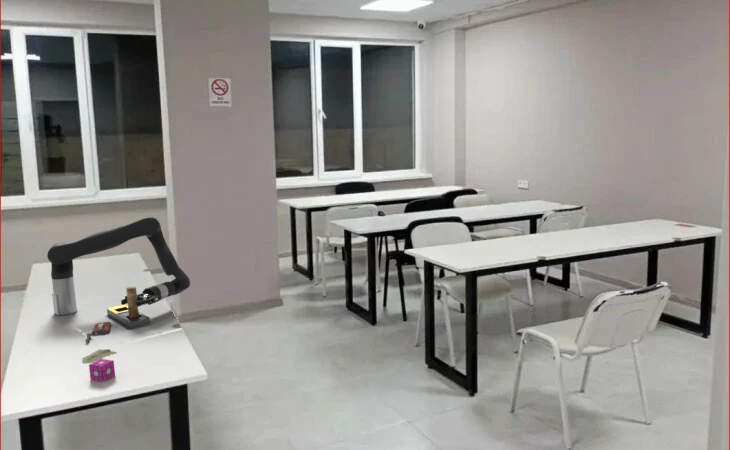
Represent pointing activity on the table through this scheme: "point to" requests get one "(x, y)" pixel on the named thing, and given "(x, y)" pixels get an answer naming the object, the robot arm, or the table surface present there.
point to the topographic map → (97, 355)
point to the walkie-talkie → (99, 329)
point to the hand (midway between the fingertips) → (129, 303)
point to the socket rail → (127, 317)
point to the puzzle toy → (102, 370)
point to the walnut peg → (132, 302)
